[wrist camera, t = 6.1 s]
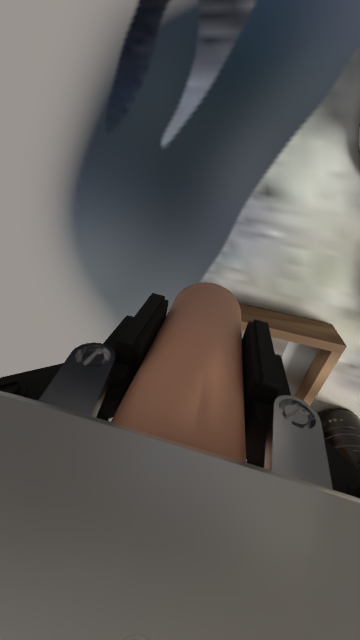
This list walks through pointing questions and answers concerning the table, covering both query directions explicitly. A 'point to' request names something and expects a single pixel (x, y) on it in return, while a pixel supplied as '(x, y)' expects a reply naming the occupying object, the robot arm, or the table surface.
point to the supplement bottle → (342, 433)
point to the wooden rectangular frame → (300, 348)
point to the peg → (193, 376)
